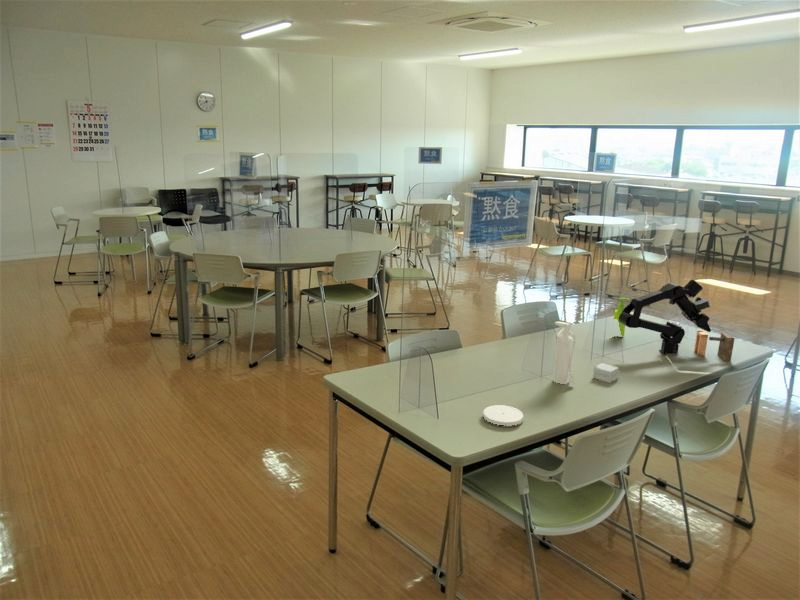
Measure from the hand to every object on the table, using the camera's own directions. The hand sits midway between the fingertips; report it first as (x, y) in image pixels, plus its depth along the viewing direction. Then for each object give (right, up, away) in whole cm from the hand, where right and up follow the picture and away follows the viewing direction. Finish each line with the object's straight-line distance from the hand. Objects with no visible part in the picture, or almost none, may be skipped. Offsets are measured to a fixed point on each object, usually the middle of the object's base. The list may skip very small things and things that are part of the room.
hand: (706, 328), depth 290 cm
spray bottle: (-76, -21, -34) cm, 86 cm away
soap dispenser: (-31, -5, +28) cm, 42 cm away
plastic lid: (-106, -29, -69) cm, 130 cm away
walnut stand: (+3, -14, -3) cm, 15 cm away
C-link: (-2, -13, +2) cm, 13 cm away
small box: (-57, -20, -29) cm, 67 cm away
